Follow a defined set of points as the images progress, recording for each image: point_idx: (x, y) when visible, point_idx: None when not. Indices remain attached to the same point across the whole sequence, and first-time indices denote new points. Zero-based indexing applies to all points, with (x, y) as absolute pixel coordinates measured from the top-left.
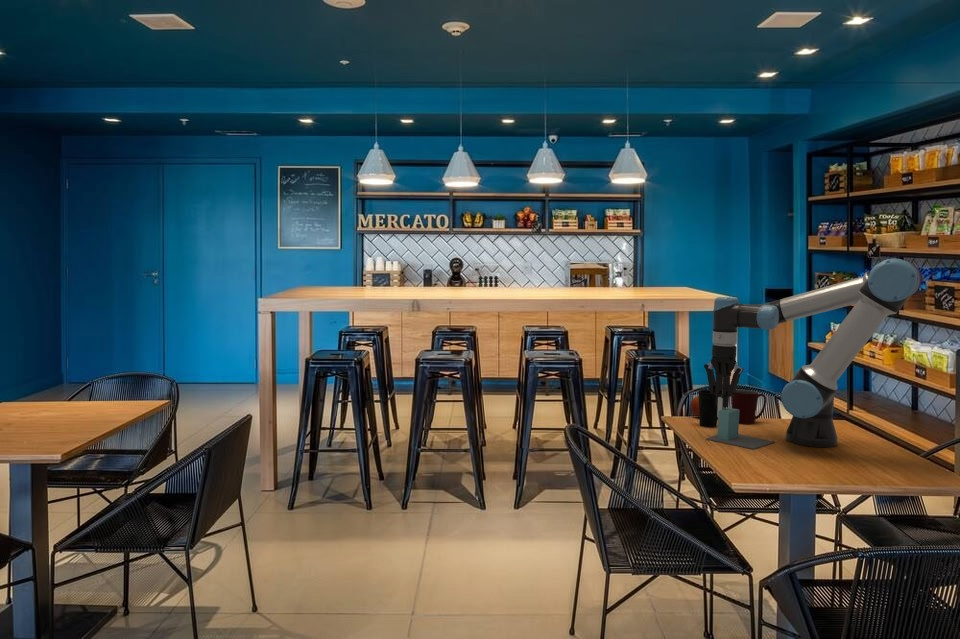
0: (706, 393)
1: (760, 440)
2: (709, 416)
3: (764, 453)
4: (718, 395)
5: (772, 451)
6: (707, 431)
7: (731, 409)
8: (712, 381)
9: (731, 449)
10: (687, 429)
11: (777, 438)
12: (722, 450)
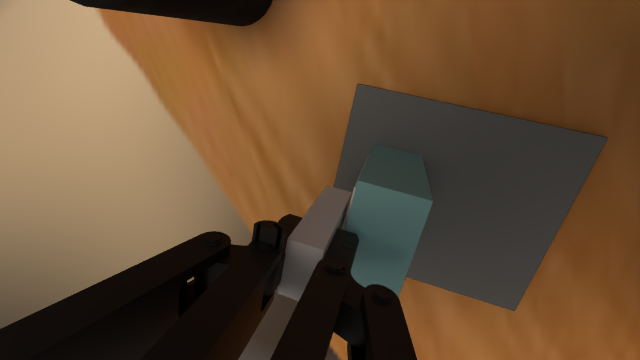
0: (103, 6)
1: (531, 161)
2: (230, 15)
3: (560, 339)
4: (273, 296)
5: (594, 298)
6: (279, 108)
7: (382, 226)
8: (133, 352)
9: (434, 334)
10: (210, 126)
11: (624, 17)
12: None
